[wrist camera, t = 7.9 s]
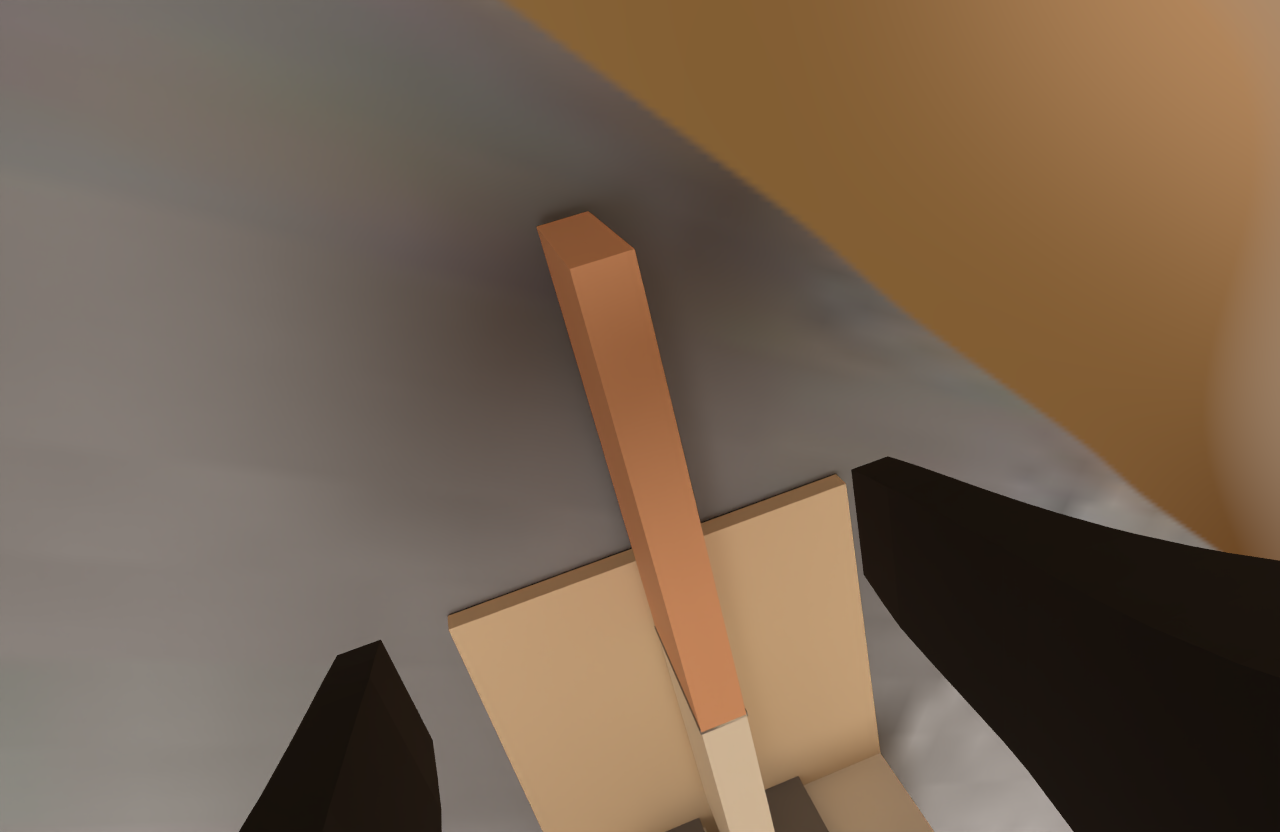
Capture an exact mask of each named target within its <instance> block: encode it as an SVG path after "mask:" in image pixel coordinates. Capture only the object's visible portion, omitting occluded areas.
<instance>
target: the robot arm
mask: <svg viewBox="0 0 1280 832" xmlns="http://www.w3.org/2000/svg"><path fill="white" fill-rule="evenodd" d="M851 471H852V479H853V488H854V496H855V505H856V513H857V522H858V530H859V538H860V547H861V555H862V564H863V572H864V576H865V577H866V579H867V580H868V582H869V583H870V585H871V586H872V587H873V589H874V590H875V592H876V593H877V595H878V596H879V598H880V599H881V601H882V602H883V604H884V605H885V607H886V608H887V609H888V611H889V612H890V614H891V615H892V616H893V618H894V619H895V621H896V622H897V623H898V625H899V626H900V628H901V629H902V630H903V631H904V632H905V633H906V634H907V636H908V637H909V638H910V639H911V640H912V641H913V642H914V644H915V645H916V646H917V647H918V648H919V649H920V650H921V651H922V652H923V654H924V655H925V656H926V657H927V658H928V659H929V660H930V661H931V662H932V664H933V665H934V666H935V667H936V668H937V669H938V670H939V671H940V672H941V674H942V675H943V676H944V677H945V678H946V679H947V680H948V681H949V682H950V683H951V685H952V686H953V687H954V688H955V689H956V690H957V691H958V692H959V693H960V694H961V695H962V697H963V698H964V699H965V700H966V701H967V702H968V703H969V704H970V705H971V706H972V708H973V709H974V710H975V711H976V712H977V713H978V714H979V715H980V716H981V717H982V719H983V720H984V721H985V722H986V723H987V724H988V725H989V726H990V727H991V728H992V730H993V731H994V732H995V733H996V734H997V735H998V736H999V737H1000V738H1001V739H1002V740H1003V742H1004V743H1005V744H1006V745H1007V746H1008V747H1009V749H1010V750H1011V751H1012V752H1013V753H1014V755H1015V756H1016V757H1017V758H1018V759H1019V761H1020V762H1021V763H1022V764H1023V765H1024V767H1025V768H1026V769H1027V770H1028V771H1029V773H1030V774H1031V775H1032V777H1033V778H1034V779H1035V781H1036V782H1037V783H1038V785H1039V786H1040V787H1041V789H1042V790H1043V791H1044V793H1045V794H1046V795H1047V797H1048V798H1049V799H1050V801H1051V802H1052V803H1053V805H1054V806H1055V807H1056V809H1057V810H1058V811H1059V813H1060V814H1061V815H1062V817H1063V818H1064V819H1065V821H1066V822H1067V823H1068V825H1069V826H1070V827H1071V829H1072V830H1073V831H1074V832H1280V561H1278V560H1271V559H1264V558H1258V557H1252V556H1245V555H1238V554H1232V553H1226V552H1221V551H1215V550H1210V549H1204V548H1199V547H1193V546H1188V545H1184V544H1179V543H1175V542H1170V541H1165V540H1161V539H1156V538H1152V537H1147V536H1142V535H1138V534H1133V533H1129V532H1125V531H1121V530H1117V529H1113V528H1109V527H1105V526H1102V525H1098V524H1095V523H1091V522H1087V521H1084V520H1080V519H1077V518H1073V517H1070V516H1066V515H1063V514H1059V513H1056V512H1052V511H1049V510H1046V509H1043V508H1040V507H1036V506H1033V505H1030V504H1027V503H1024V502H1021V501H1018V500H1015V499H1012V498H1009V497H1006V496H1003V495H1000V494H997V493H994V492H991V491H988V490H985V489H982V488H979V487H976V486H973V485H971V484H968V483H965V482H962V481H959V480H956V479H954V478H951V477H948V476H945V475H942V474H939V473H937V472H934V471H931V470H928V469H925V468H922V467H919V466H916V465H913V464H910V463H907V462H904V461H901V460H898V459H894V458H891V457H885V458H882V459H879V460H877V461H874V462H871V463H868V464H866V465H863V466H860V467H857V468H855V469H852V470H851ZM239 832H442V831H441V803H440V795H439V786H438V777H437V770H436V763H435V755H434V748H433V740H432V738H431V736H430V734H429V732H428V730H427V728H426V726H425V724H424V723H423V721H422V719H421V717H420V715H419V713H418V711H417V709H416V707H415V705H414V703H413V701H412V699H411V697H410V695H409V693H408V691H407V690H406V688H405V686H404V684H403V682H402V680H401V678H400V676H399V674H398V672H397V670H396V668H395V666H394V664H393V662H392V660H391V658H390V656H389V655H388V653H387V651H386V649H385V647H384V645H383V643H382V641H381V640H379V641H376V642H373V643H370V644H367V645H365V646H362V647H359V648H356V649H354V650H351V651H348V652H345V653H343V654H340V655H337V657H336V659H335V660H334V662H333V664H332V666H331V668H330V669H329V671H328V673H327V675H326V677H325V678H324V680H323V682H322V684H321V686H320V688H319V690H318V692H317V693H316V695H315V697H314V699H313V701H312V703H311V705H310V707H309V709H308V711H307V712H306V714H305V716H304V718H303V720H302V722H301V724H300V726H299V727H298V729H297V731H296V733H295V735H294V737H293V739H292V741H291V742H290V744H289V746H288V748H287V750H286V752H285V753H284V755H283V757H282V759H281V761H280V762H279V764H278V766H277V768H276V769H275V771H274V773H273V775H272V777H271V778H270V780H269V782H268V784H267V786H266V787H265V789H264V791H263V793H262V795H261V796H260V798H259V800H258V801H257V803H256V805H255V806H254V808H253V809H252V811H251V813H250V814H249V816H248V818H247V819H246V821H245V823H244V824H243V826H242V827H241V829H240V831H239Z"/></svg>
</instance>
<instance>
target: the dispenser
mask: <svg viewBox="0 0 1280 832" xmlns="http://www.w3.org/2000/svg"><path fill="white" fill-rule="evenodd" d="M701 527H702V531H703V536H704V540H705V544H706V548H707V552H708V556H709V561H710V565H711V569H712V573H713V577H714V581H715V586H716V590H717V594H718V598H719V602H720V606H721V610H722V615H723V619H724V623H725V627H726V631H727V635H728V640H729V644H730V648H731V652H732V656H733V660H734V664H735V669H736V673H737V677H738V681H739V685H740V689H741V694H742V698H743V702H744V706H745V709H746V711H747V713H748V716H747V718H748V723H749V727H750V731H751V735H752V739H753V743H754V748H755V752H756V756H757V760H758V764H759V768H760V773H761V777H762V781H763V785H764V789H765V793H766V797H767V802H768V806H769V810H770V814H771V818H772V822H773V827H774V831H775V832H934V831H933V829H932V828H931V826H930V825H929V823H928V822H927V820H926V819H925V818H924V816H923V815H922V813H921V812H920V810H919V809H918V807H917V806H916V804H915V803H914V801H913V800H912V798H911V797H910V796H909V794H908V793H907V791H906V790H905V788H904V787H903V785H902V784H901V782H900V781H899V779H898V778H897V777H896V775H895V774H894V772H893V771H892V769H891V768H890V766H889V765H888V763H887V762H886V760H885V759H884V758H883V756H882V755H881V753H880V746H879V739H878V731H877V723H876V715H875V707H874V700H873V692H872V684H871V676H870V668H869V661H868V653H867V645H866V637H865V629H864V622H863V614H862V606H861V598H860V590H859V582H858V575H857V567H856V559H855V551H854V543H853V536H852V528H851V520H850V512H849V504H848V497H847V489H846V483H845V482H844V481H843V480H841V479H840V478H839V477H838V476H837V475H836V474H835V475H832V476H830V477H827V478H824V479H821V480H819V481H816V482H813V483H810V484H808V485H805V486H802V487H799V488H797V489H794V490H791V491H788V492H786V493H783V494H780V495H777V496H775V497H772V498H769V499H767V500H764V501H761V502H758V503H756V504H753V505H750V506H747V507H745V508H742V509H739V510H736V511H734V512H731V513H728V514H725V515H723V516H720V517H717V518H715V519H712V520H709V521H706V522H704V523H701ZM654 626H655V624H654V620H653V617H652V614H651V610H650V607H649V603H648V600H647V597H646V593H645V590H644V587H643V583H642V580H641V577H640V573H639V570H638V566H637V563H636V560H635V556H634V553H633V550H632V549H630V550H627V551H624V552H621V553H619V554H616V555H613V556H610V557H608V558H605V559H602V560H600V561H597V562H594V563H591V564H589V565H586V566H583V567H580V568H578V569H575V570H572V571H569V572H567V573H564V574H561V575H558V576H556V577H553V578H550V579H547V580H545V581H542V582H539V583H537V584H534V585H531V586H528V587H526V588H523V589H520V590H517V591H515V592H512V593H509V594H506V595H504V596H501V597H498V598H495V599H493V600H490V601H487V602H484V603H482V604H479V605H476V606H474V607H471V608H468V609H465V610H463V611H460V612H457V613H454V614H452V615H449V616H448V627H449V631H450V634H451V636H452V638H453V640H454V642H455V644H456V646H457V649H458V651H459V653H460V655H461V657H462V659H463V661H464V664H465V666H466V668H467V670H468V672H469V674H470V676H471V679H472V681H473V683H474V685H475V687H476V689H477V691H478V694H479V696H480V698H481V700H482V702H483V704H484V706H485V709H486V711H487V713H488V715H489V717H490V719H491V721H492V724H493V726H494V728H495V730H496V732H497V734H498V736H499V739H500V741H501V743H502V745H503V747H504V749H505V751H506V754H507V756H508V758H509V760H510V762H511V764H512V766H513V769H514V771H515V773H516V775H517V777H518V779H519V781H520V784H521V786H522V788H523V790H524V792H525V794H526V797H527V799H528V801H529V803H530V805H531V807H532V809H533V812H534V814H535V816H536V818H537V820H538V822H539V824H540V827H541V829H542V831H543V832H720V831H719V829H718V826H717V824H716V821H715V819H714V816H713V814H712V812H711V809H710V807H709V804H708V802H707V798H706V795H705V792H704V788H703V785H702V782H701V778H700V775H699V772H698V768H697V765H696V761H695V758H694V755H693V751H692V748H691V745H690V741H689V738H688V735H687V731H686V728H685V724H684V721H683V718H682V714H681V711H680V708H679V704H678V701H677V698H676V694H675V691H674V687H673V684H672V681H671V677H670V674H669V671H668V667H667V664H666V661H665V657H664V654H663V651H662V647H661V644H660V640H659V637H658V635H657V633H656V630H655V627H654Z"/></svg>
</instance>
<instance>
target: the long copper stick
mask: <svg viewBox="0 0 1280 832" xmlns="http://www.w3.org/2000/svg"><path fill="white" fill-rule="evenodd" d="M537 230H538V234H539V237H540V240H541V244H542V247H543V250H544V254H545V257H546V261H547V264H548V267H549V271H550V274H551V277H552V281H553V284H554V287H555V291H556V294H557V298H558V301H559V304H560V308H561V311H562V314H563V318H564V321H565V324H566V328H567V331H568V334H569V338H570V341H571V345H572V348H573V351H574V355H575V358H576V361H577V365H578V368H579V371H580V375H581V378H582V382H583V385H584V388H585V392H586V395H587V398H588V402H589V405H590V408H591V412H592V415H593V419H594V422H595V425H596V429H597V432H598V435H599V439H600V442H601V445H602V449H603V452H604V456H605V459H606V462H607V466H608V469H609V472H610V476H611V479H612V482H613V486H614V489H615V493H616V496H617V499H618V503H619V506H620V509H621V513H622V516H623V519H624V523H625V526H626V529H627V533H628V536H629V540H630V543H631V546H632V550H633V553H634V556H635V560H636V563H637V566H638V570H639V573H640V577H641V580H642V583H643V587H644V590H645V593H646V597H647V600H648V603H649V607H650V610H651V614H652V617H653V620H654V624H655V626H654V627H655V630H656V633H657V635H658V637H659V640H660V644H661V647H662V651H663V654H664V657H665V661H666V664H667V667H668V671H669V674H670V677H671V681H672V684H673V687H674V691H675V694H676V698H677V701H678V704H679V708H680V711H681V714H682V718H683V721H684V724H685V728H686V731H687V735H688V738H689V741H690V745H691V748H692V751H693V755H694V758H695V761H696V765H697V768H698V772H699V775H700V778H701V782H702V785H703V788H704V792H705V795H706V798H707V802H708V804H709V807H710V809H711V812H712V814H713V816H714V819H715V821H716V824H717V826H718V829H719V831H720V832H775V831H774V827H773V822H772V818H771V814H770V810H769V806H768V802H767V797H766V793H765V789H764V785H763V781H762V777H761V773H760V768H759V764H758V760H757V756H756V752H755V748H754V743H753V739H752V735H751V731H750V727H749V723H748V718H747V716H748V713H747V711H746V709H745V706H744V702H743V698H742V694H741V689H740V685H739V681H738V677H737V673H736V669H735V664H734V660H733V656H732V652H731V648H730V644H729V640H728V635H727V631H726V627H725V623H724V619H723V615H722V610H721V606H720V602H719V598H718V594H717V590H716V586H715V581H714V577H713V573H712V569H711V565H710V561H709V556H708V552H707V548H706V544H705V540H704V536H703V531H702V527H701V523H700V519H699V515H698V511H697V507H696V502H695V498H694V494H693V490H692V486H691V482H690V477H689V473H688V469H687V465H686V461H685V457H684V453H683V448H682V444H681V440H680V436H679V432H678V428H677V423H676V419H675V415H674V411H673V407H672V403H671V399H670V394H669V390H668V386H667V382H666V378H665V374H664V369H663V365H662V361H661V357H660V353H659V349H658V344H657V340H656V336H655V332H654V328H653V324H652V320H651V315H650V311H649V307H648V303H647V299H646V295H645V290H644V286H643V282H642V278H641V274H640V270H639V266H638V261H637V257H636V253H635V249H634V248H633V247H631V246H630V245H629V244H628V243H627V242H625V241H624V240H623V239H622V238H621V237H619V236H618V235H617V234H616V233H614V232H613V231H612V230H611V229H610V228H608V227H607V226H606V225H605V224H603V223H602V222H601V221H600V220H599V219H597V218H596V217H595V216H594V215H592V214H591V213H590V212H589V211H587V212H583V213H580V214H577V215H573V216H570V217H567V218H563V219H560V220H557V221H553V222H550V223H547V224H543V225H540V226H537Z"/></svg>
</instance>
